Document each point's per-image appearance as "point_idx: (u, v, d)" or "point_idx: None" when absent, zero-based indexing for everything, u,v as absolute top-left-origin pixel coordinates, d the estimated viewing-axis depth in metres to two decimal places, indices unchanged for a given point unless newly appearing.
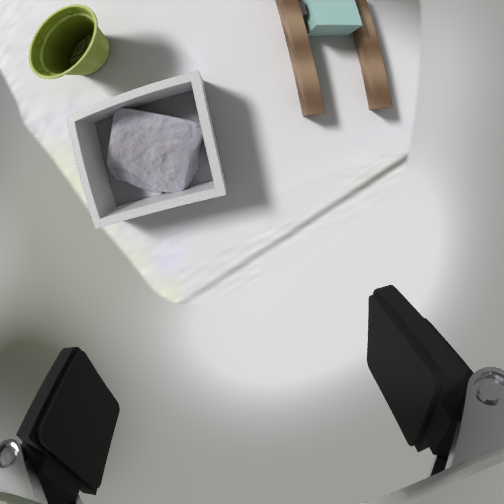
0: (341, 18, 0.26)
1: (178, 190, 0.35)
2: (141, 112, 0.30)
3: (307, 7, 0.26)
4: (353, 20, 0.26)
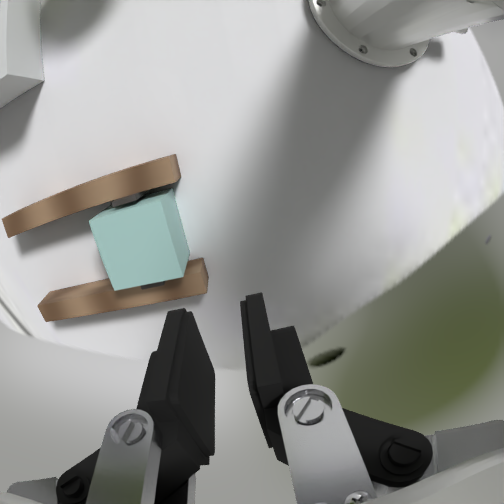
0: (112, 258, 0.21)
1: None
2: None
3: (128, 206, 0.21)
4: (116, 277, 0.22)
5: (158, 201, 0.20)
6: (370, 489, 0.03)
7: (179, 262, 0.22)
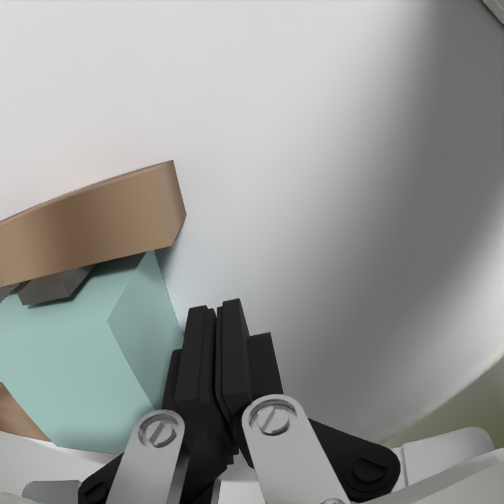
0: (34, 407, 0.07)
1: None
2: None
3: (43, 305, 0.07)
4: (53, 433, 0.08)
5: (101, 320, 0.06)
6: None
7: None
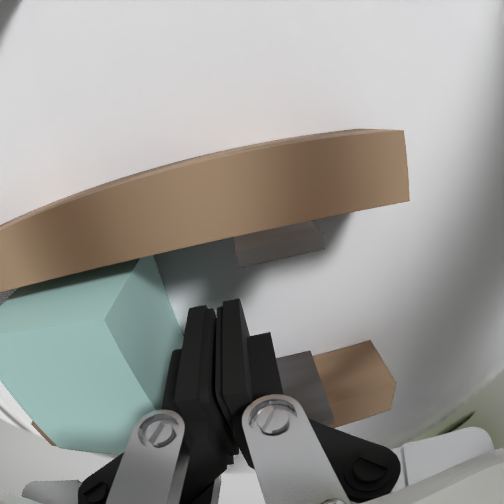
0: (36, 409, 0.07)
1: None
2: None
3: (42, 306, 0.07)
4: (55, 435, 0.08)
5: (99, 319, 0.06)
6: None
7: None
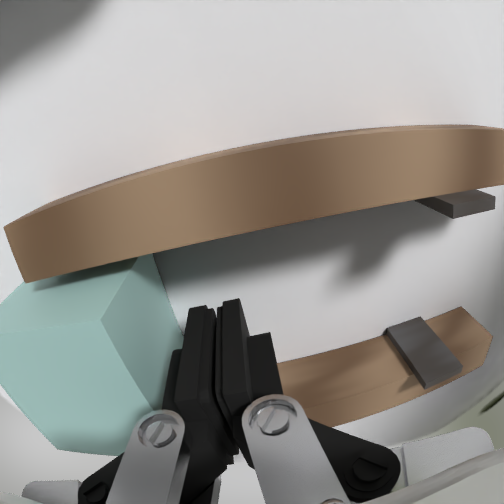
0: (34, 410, 0.07)
1: None
2: None
3: (40, 307, 0.07)
4: (53, 436, 0.08)
5: (95, 320, 0.06)
6: None
7: None
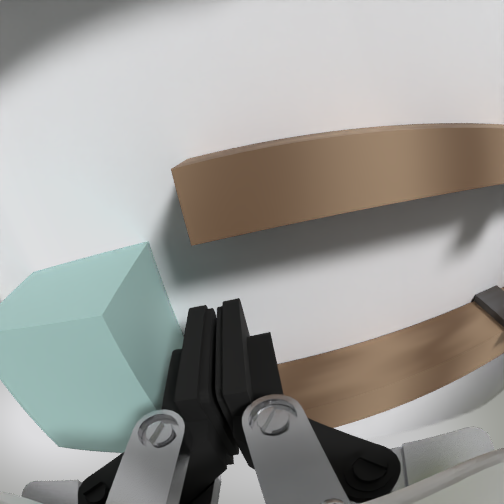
0: (35, 407, 0.07)
1: None
2: None
3: (41, 303, 0.07)
4: (55, 433, 0.08)
5: (97, 315, 0.06)
6: None
7: None
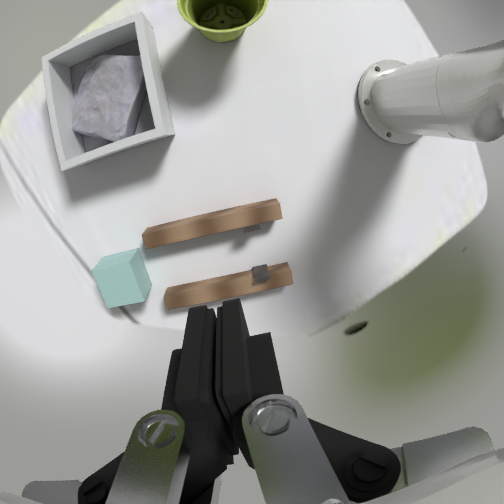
0: (105, 291, 0.38)
1: (73, 124, 0.31)
2: (139, 82, 0.30)
3: (113, 262, 0.38)
4: (108, 301, 0.38)
5: (128, 262, 0.36)
6: None
7: (142, 293, 0.38)
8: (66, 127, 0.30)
